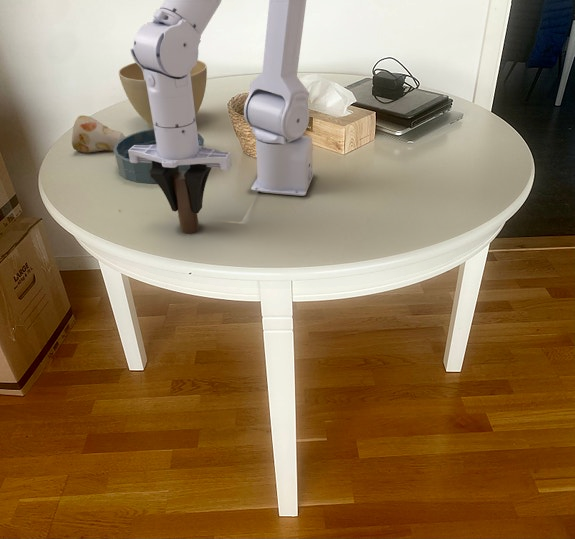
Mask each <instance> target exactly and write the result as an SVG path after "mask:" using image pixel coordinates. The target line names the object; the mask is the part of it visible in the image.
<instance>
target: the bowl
mask: <svg viewBox="0 0 575 539" xmlns="http://www.w3.org/2000/svg"><path fill="white" fill-rule="evenodd" d="M197 134H198V142H199V146H203V147H206V145H205V138H204V137H203V136H202V135H201V134H200V133H198V132H197ZM134 145H157V144H156V138H155V132H154V128H151V129H144V130H141V131H137V132H134V133H130V134H128V135H127V136H126V135H125V137H124V138H122V139H121V140H120V141H118V142H117V143H116V144H115V146H114V149H113V151H112V152H113V156H114V160H115V164H116V169H117V172H118V174H119V175H120V176H121V177H123V178H124V179H125V180H127V181H130V182H131V181H132V182H135V183H140V184H141V183H142V184H157V183H156V181H155V180H154V179H153V178H152V177H151V176H150V173H149V171H150V170H151V169H152V162H140V161H139V162H138V163H131V162H130V157H129V152H128V150H129V149H130V148H131V147H133V146H134ZM188 169H190V166H189V165H178V172H180V171H187V170H188Z"/></svg>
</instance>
